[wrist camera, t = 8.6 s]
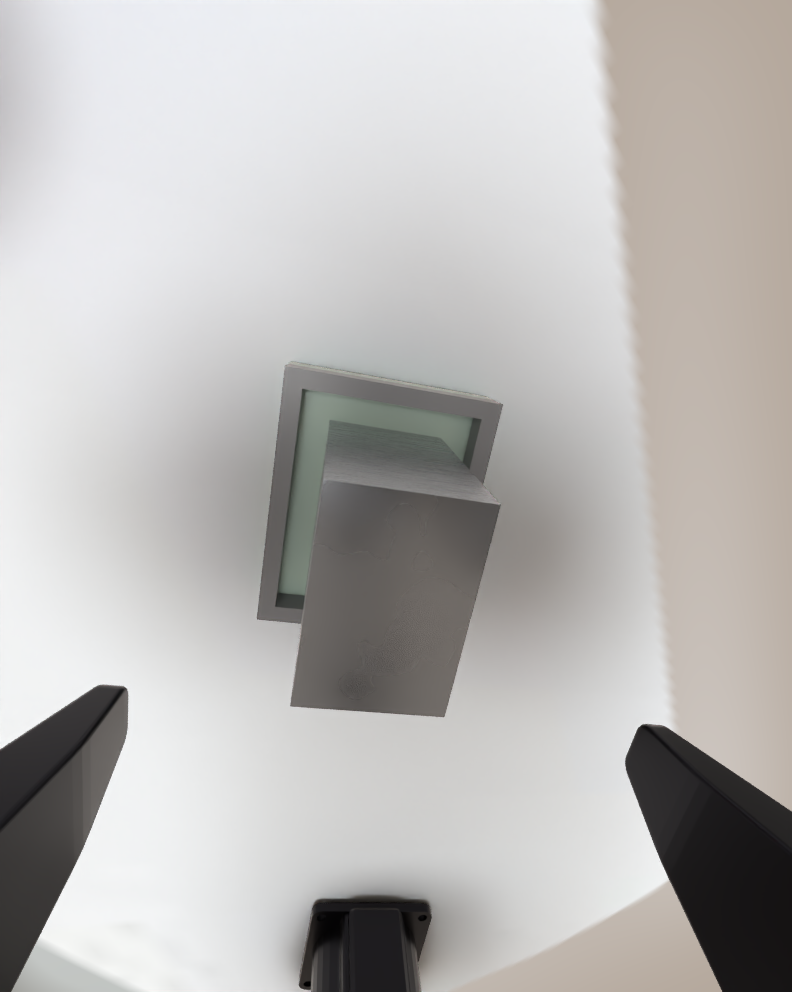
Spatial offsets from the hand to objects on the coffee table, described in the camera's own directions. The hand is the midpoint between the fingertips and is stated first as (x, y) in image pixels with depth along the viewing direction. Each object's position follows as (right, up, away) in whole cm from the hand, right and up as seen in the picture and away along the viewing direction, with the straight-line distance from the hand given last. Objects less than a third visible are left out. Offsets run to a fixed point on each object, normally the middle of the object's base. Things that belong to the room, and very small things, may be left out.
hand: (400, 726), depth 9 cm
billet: (-1, +4, +10) cm, 10 cm away
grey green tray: (-1, +4, +11) cm, 11 cm away
